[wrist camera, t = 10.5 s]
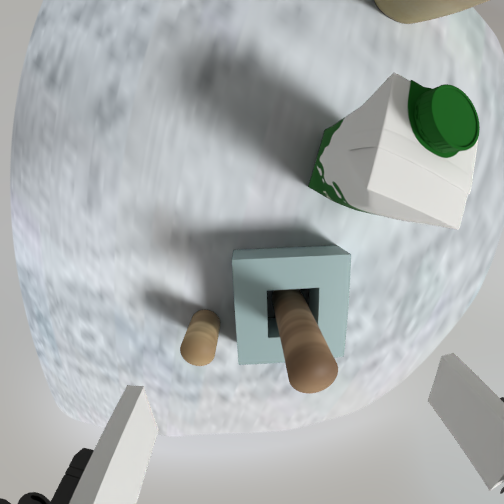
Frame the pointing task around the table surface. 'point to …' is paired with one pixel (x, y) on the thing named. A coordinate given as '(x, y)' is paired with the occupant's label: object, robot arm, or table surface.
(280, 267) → the socket block
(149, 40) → the table surface
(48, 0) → the table surface
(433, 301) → the table surface
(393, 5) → the plant pot
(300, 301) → the walnut pin long
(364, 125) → the milk carton
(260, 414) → the table surface
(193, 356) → the oak pin short
